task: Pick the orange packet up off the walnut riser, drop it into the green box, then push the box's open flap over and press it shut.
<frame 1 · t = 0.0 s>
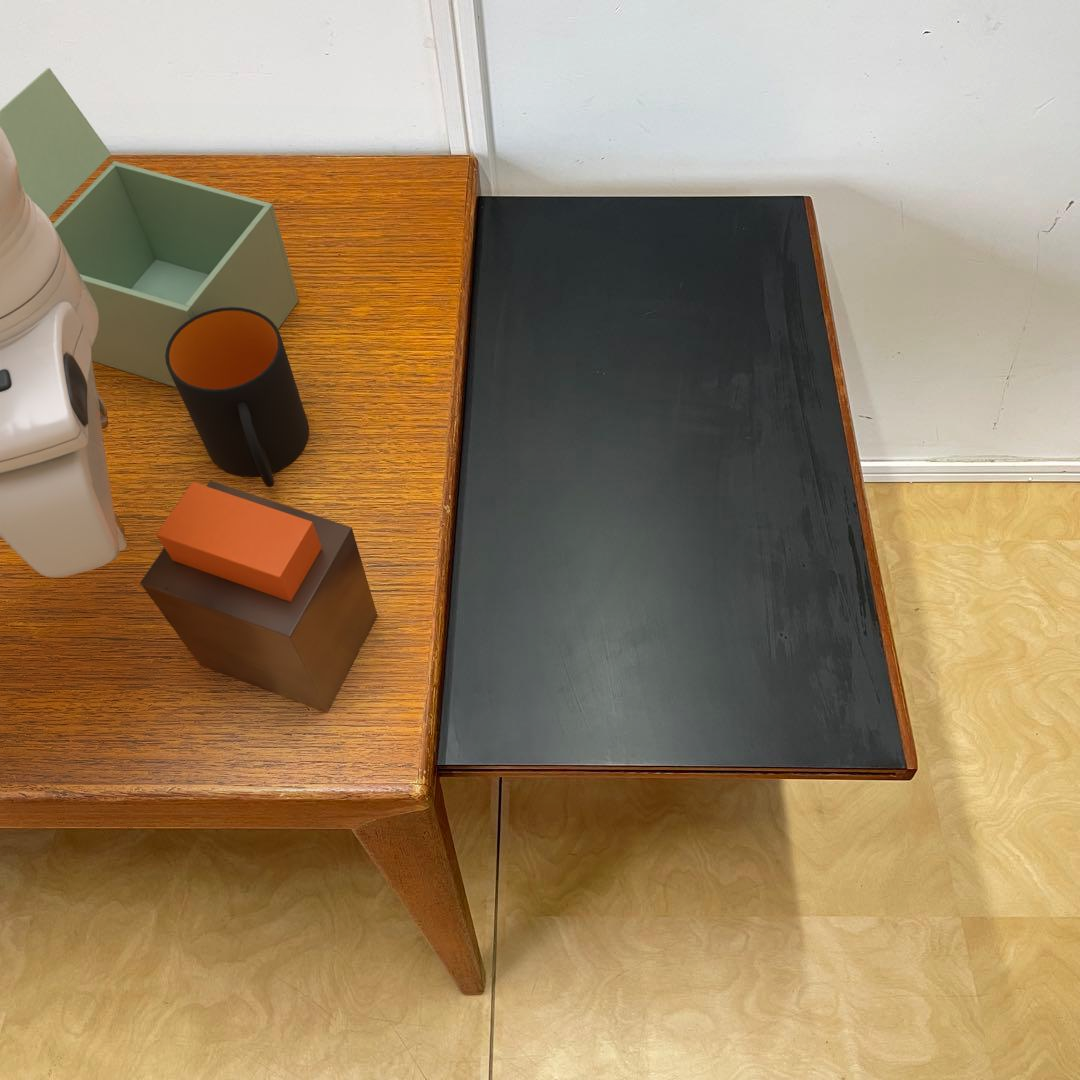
hand: (103, 480, 56), 14 cm above the table, tool pointing down, fingers open, 8 cm apart
flap: (30, 160, 71), point 15 cm above the table, hinge at 110.0°
green box: (189, 327, 81), on the table
mug: (263, 454, 74), on the table
packet: (247, 554, 55), point 12 cm above the table, touching riser
riser: (290, 639, 66), on the table
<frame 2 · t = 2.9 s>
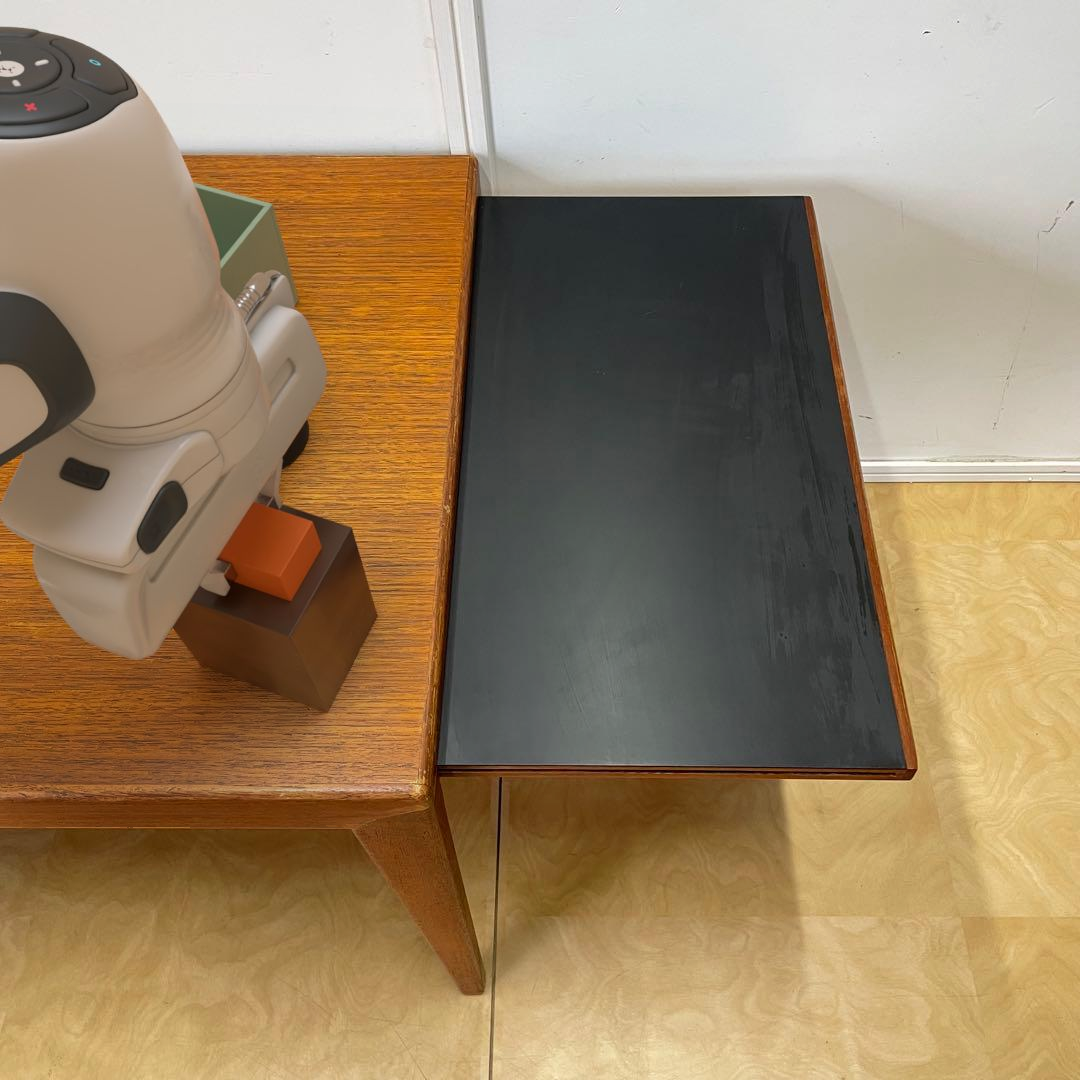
hand: (243, 546, 55), 13 cm above the table, tool pointing down, fingers closed on packet, 4 cm apart
packet: (248, 554, 55), point 12 cm above the table, touching gripper, riser
everything else where it was.
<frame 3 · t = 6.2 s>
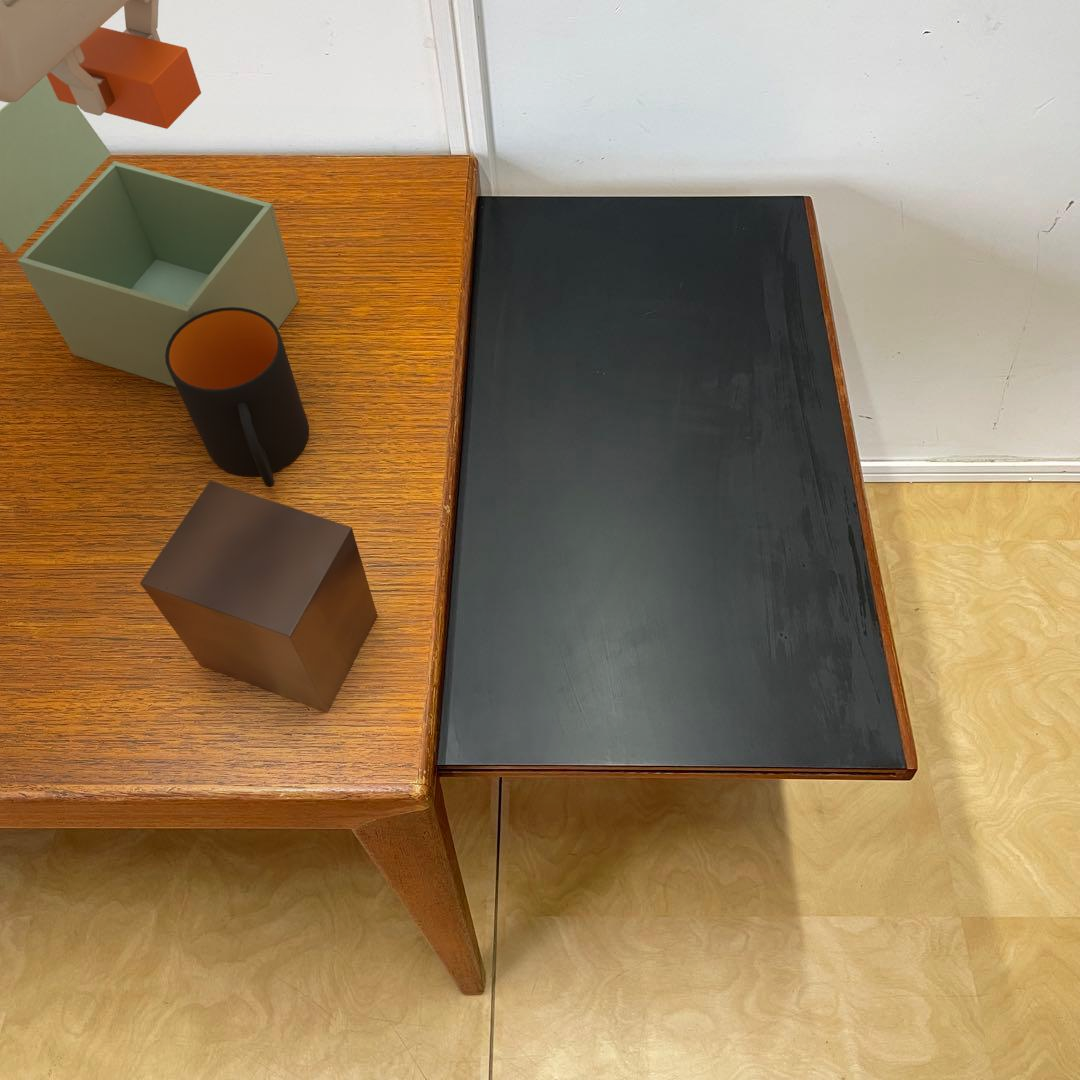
hand: (123, 83, 57), 26 cm above the table, tool pointing down, fingers closed on packet, 4 cm apart
packet: (130, 97, 58), point 25 cm above the table, touching gripper
everything else where it was.
when the fingers open (12 cm above the table, at t = 9.7 s): packet drops 8 cm and tips over, resting on green box.
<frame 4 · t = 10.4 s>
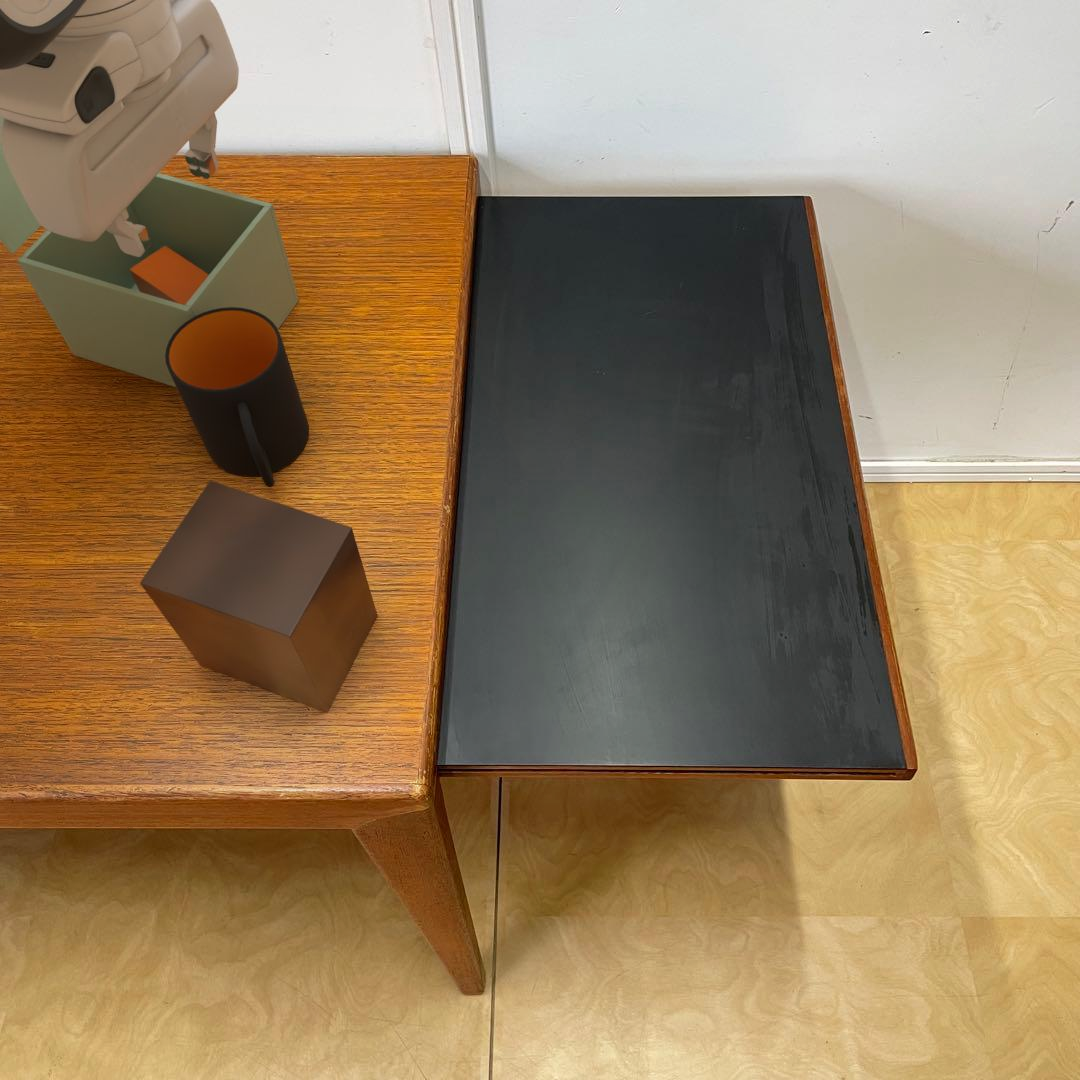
hand: (173, 209, 69), 14 cm above the table, tool pointing down, fingers open, 8 cm apart
packet: (176, 277, 80), point 3 cm above the table, tilted 180°, touching green box
everything else where it was.
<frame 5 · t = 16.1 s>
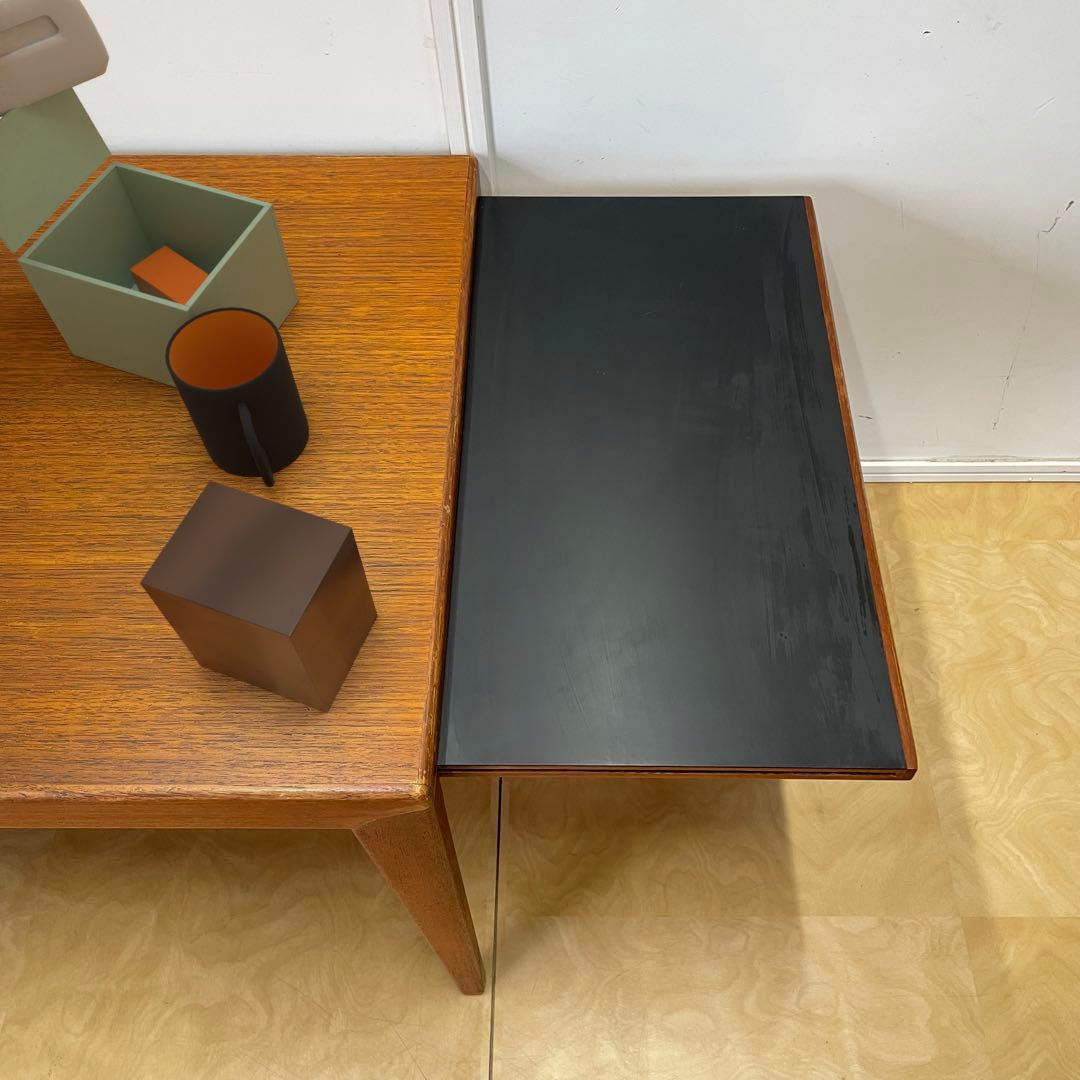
hand: (11, 166, 72), 13 cm above the table, tool pointing down, fingers closed
flap: (36, 160, 70), point 15 cm above the table, hinge at 100.8°, touching gripper
everything else where it was.
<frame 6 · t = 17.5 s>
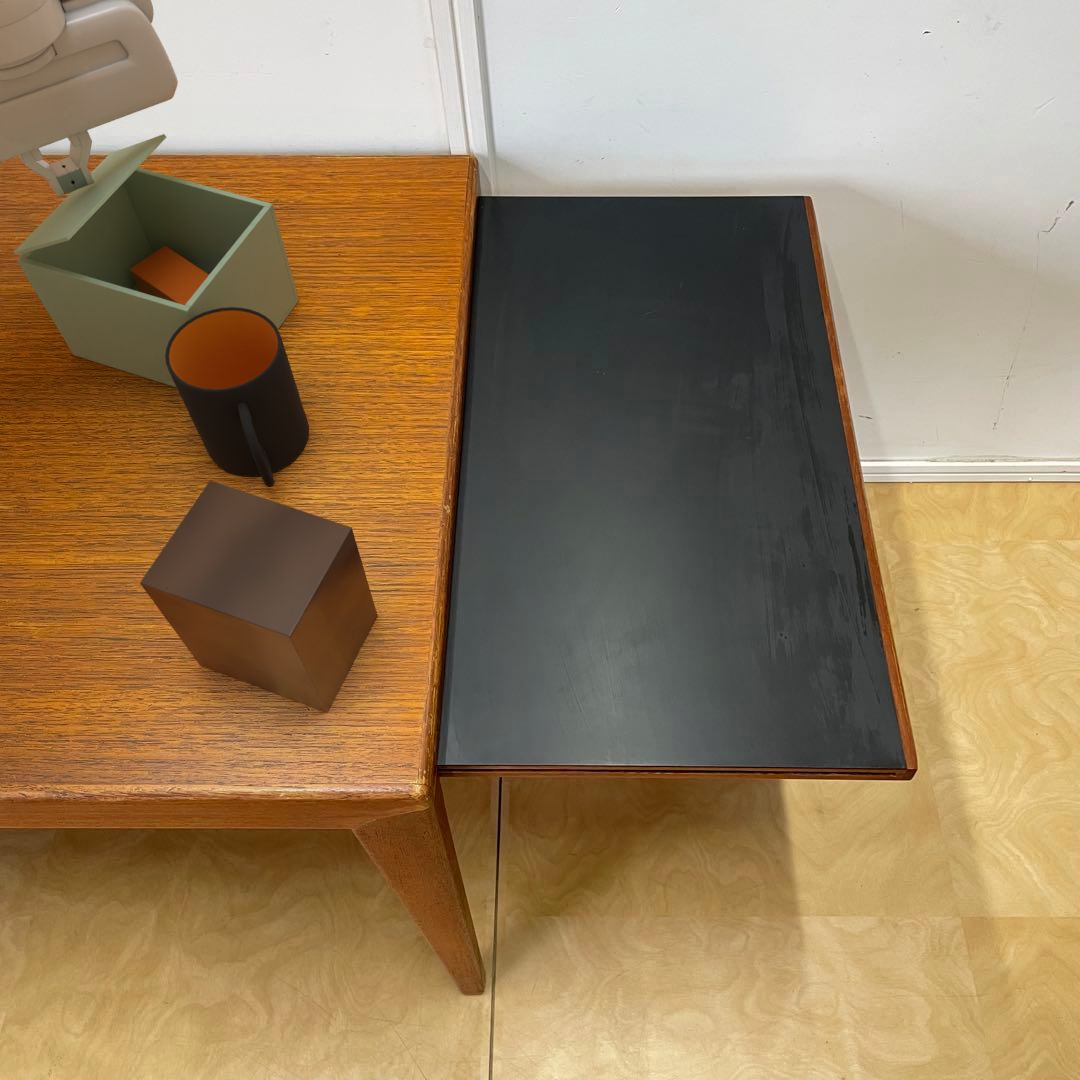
hand: (73, 186, 71), 13 cm above the table, tool pointing down, fingers closed
flap: (91, 193, 71), point 13 cm above the table, hinge at 28.0°
everything else where it was.
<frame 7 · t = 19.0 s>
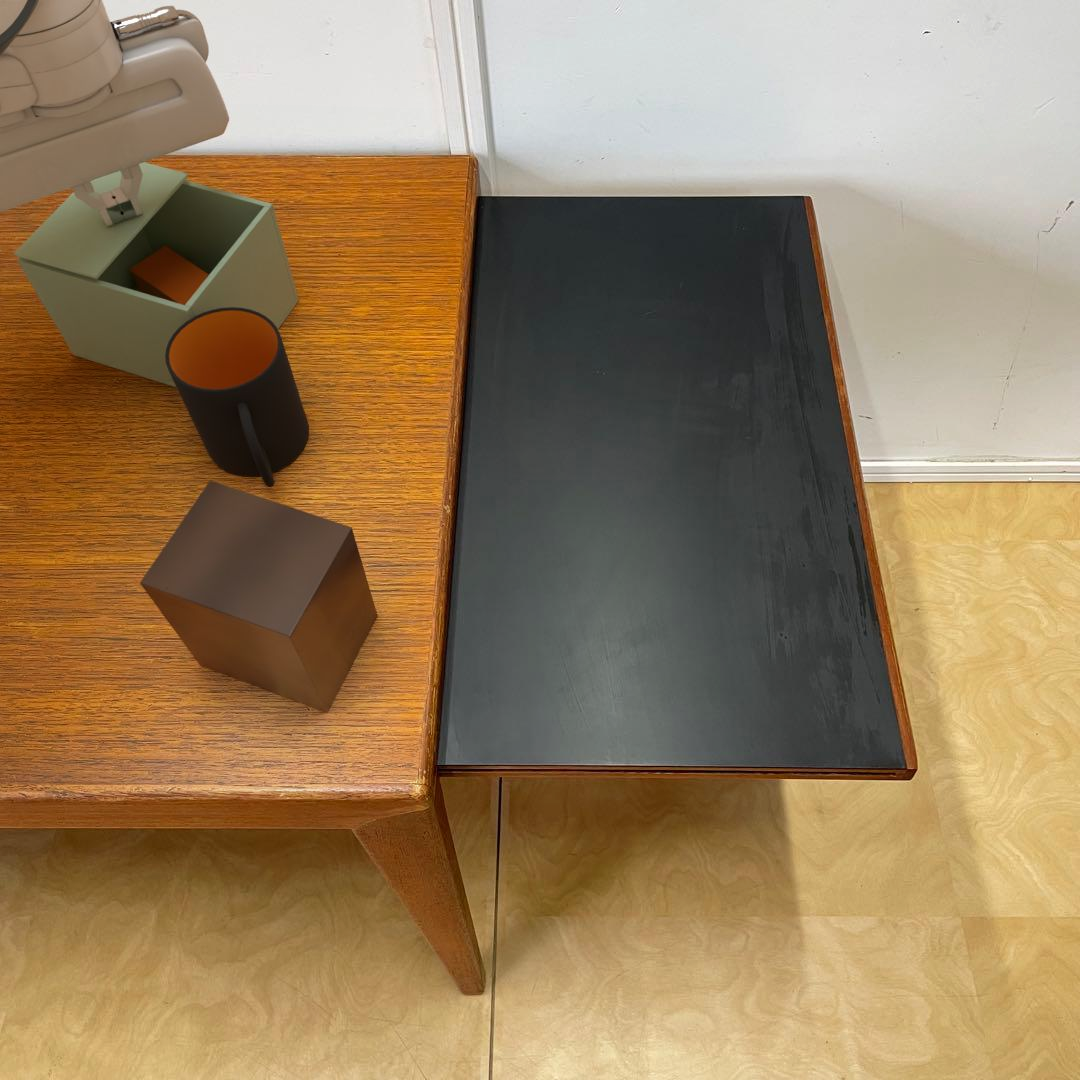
hand: (122, 216, 72), 11 cm above the table, tool pointing down, fingers closed, pressing on flap
flap: (104, 213, 73), point 11 cm above the table, hinge at 0.9°, touching gripper
everything else where it was.
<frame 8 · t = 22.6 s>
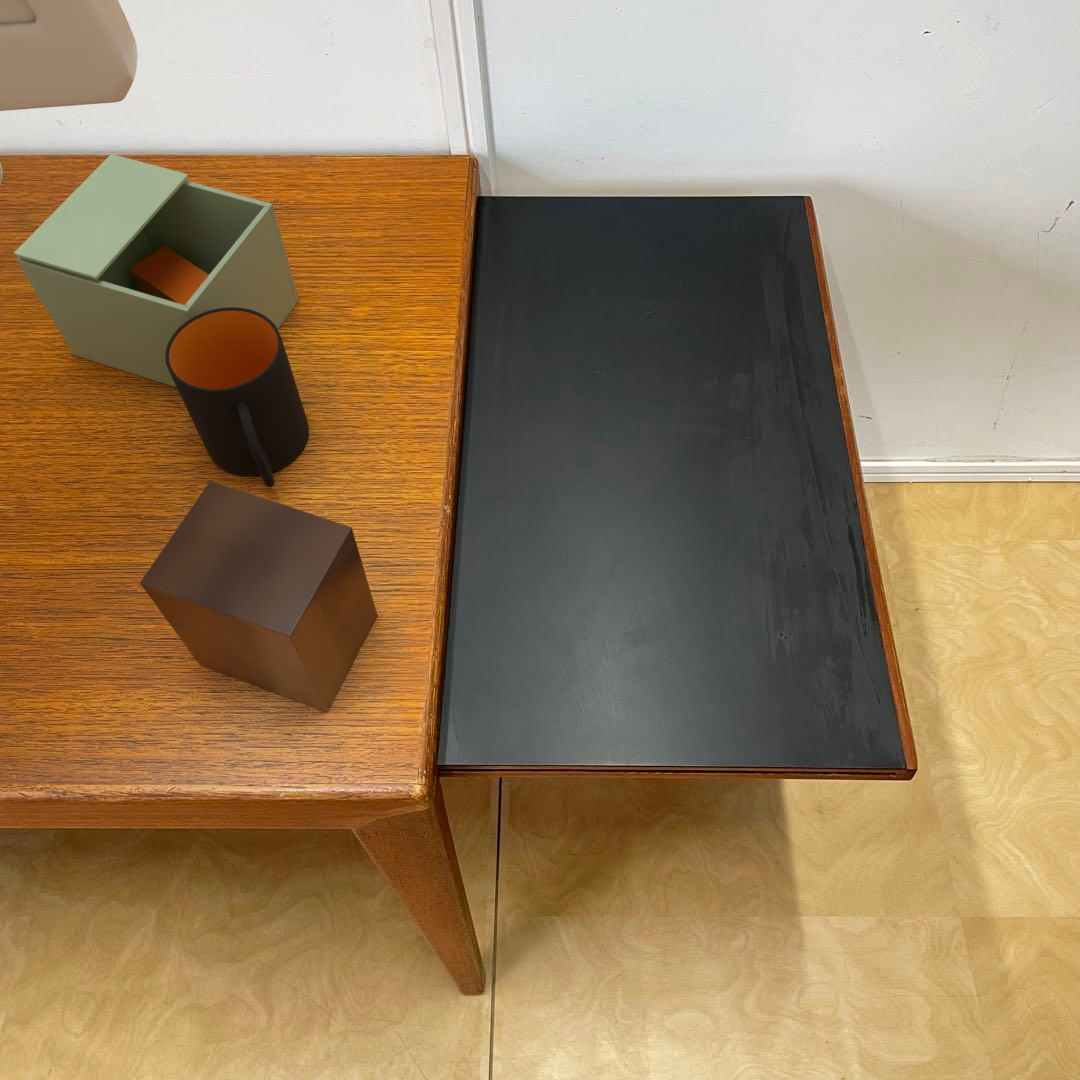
flap: (104, 213, 73), point 11 cm above the table, hinge at 0.4°
everything else where it was.
at the end: packet inside the target area in the green box (2.6 cm from its centre), point 3.5 cm above the green box's base; flap at +0° (first picture: +110°) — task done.
